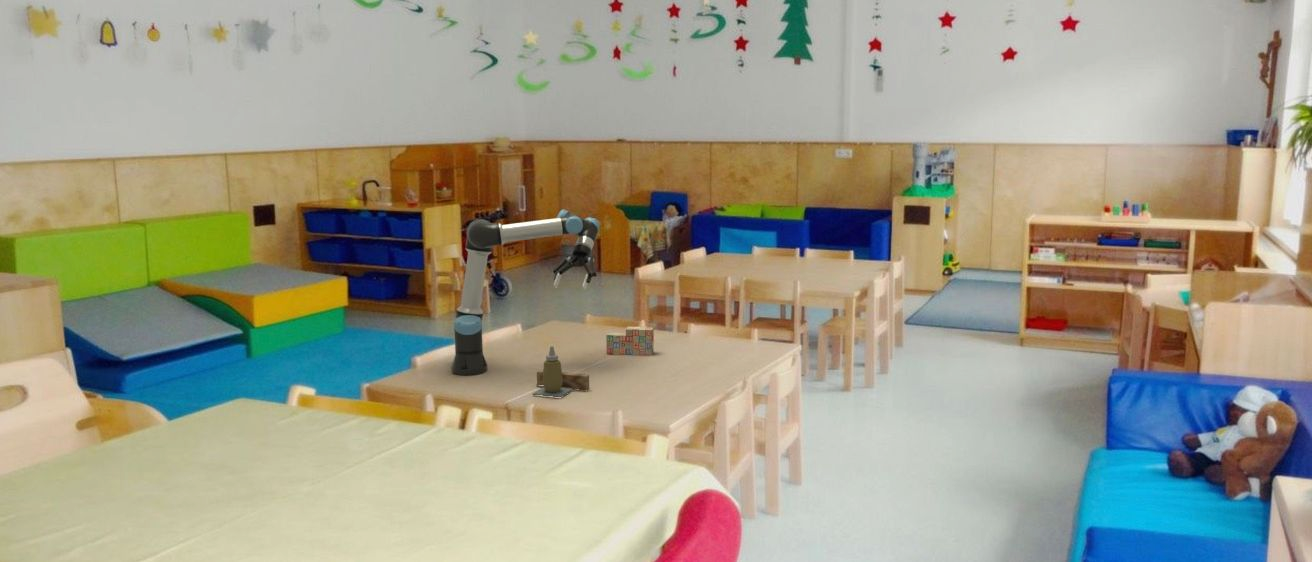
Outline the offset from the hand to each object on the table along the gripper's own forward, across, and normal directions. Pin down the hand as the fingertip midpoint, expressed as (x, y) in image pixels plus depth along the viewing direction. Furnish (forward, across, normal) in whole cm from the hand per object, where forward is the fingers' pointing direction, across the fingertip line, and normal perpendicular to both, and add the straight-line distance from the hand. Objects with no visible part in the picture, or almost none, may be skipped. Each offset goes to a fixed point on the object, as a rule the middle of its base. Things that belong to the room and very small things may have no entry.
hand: (569, 287), depth 420 cm
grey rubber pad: (+53, -11, +2) cm, 54 cm away
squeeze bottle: (+52, -10, +3) cm, 53 cm away
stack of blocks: (+2, -14, -49) cm, 51 cm away
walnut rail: (+46, -11, -4) cm, 48 cm away
